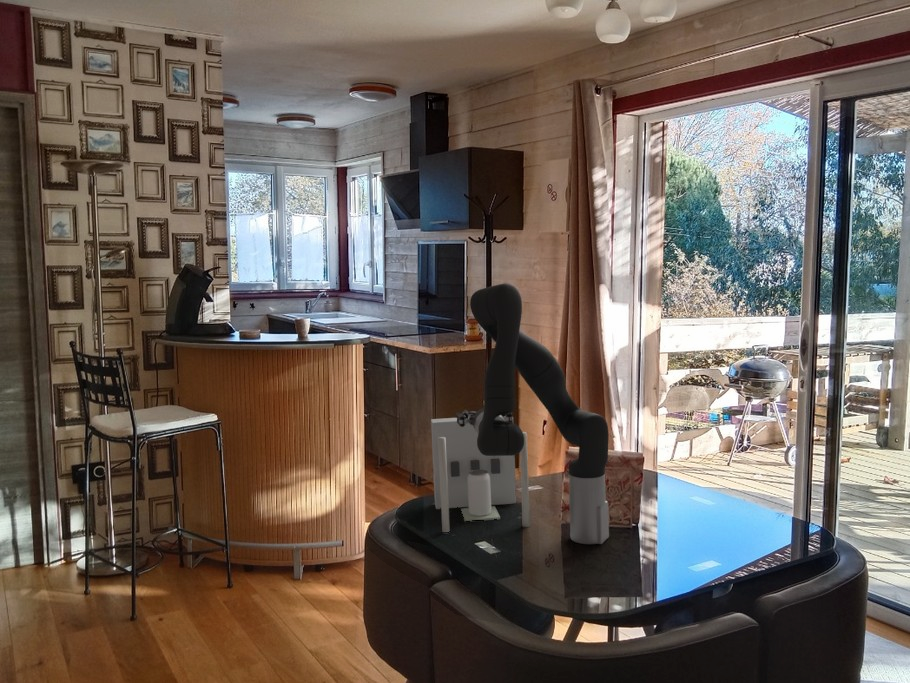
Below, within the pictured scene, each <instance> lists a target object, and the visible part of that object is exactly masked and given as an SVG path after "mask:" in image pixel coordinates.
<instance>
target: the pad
mask: <svg viewBox="0 0 910 683" xmlns="http://www.w3.org/2000/svg"><path fill="white" fill-rule="evenodd" d="M460 510H461V511H462V512H461V515H462V514H463V515H462V517H464V518H463V521H464V522H465V521H470V522H473V521H472V520H484V521H495V520H494V519H497V520H501V516H500V514H499V512H498V510H497V508H496V505H491V513H490V514H489V515H486V516H473V515H471V514H470V513H469V507H462V508H460Z"/></svg>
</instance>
